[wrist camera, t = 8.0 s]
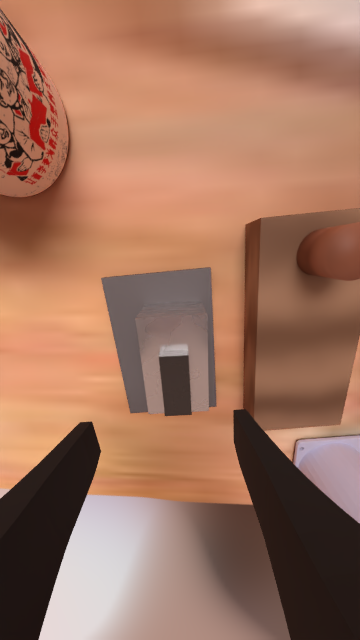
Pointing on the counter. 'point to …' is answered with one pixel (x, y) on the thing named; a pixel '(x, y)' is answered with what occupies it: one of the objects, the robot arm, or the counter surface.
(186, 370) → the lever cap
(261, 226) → the body
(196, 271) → the rubber mat
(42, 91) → the teacup with lid
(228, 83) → the counter surface
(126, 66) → the counter surface
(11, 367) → the counter surface
